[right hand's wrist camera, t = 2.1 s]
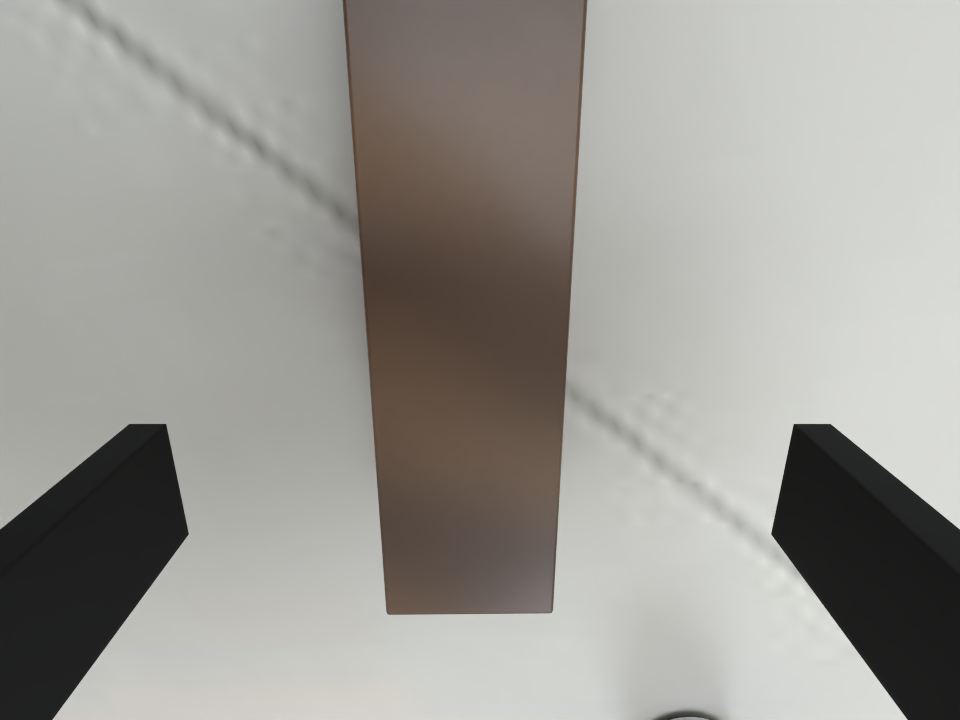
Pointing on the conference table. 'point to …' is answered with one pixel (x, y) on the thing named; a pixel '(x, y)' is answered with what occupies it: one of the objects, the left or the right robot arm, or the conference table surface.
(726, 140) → the conference table surface
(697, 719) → the pill bottle
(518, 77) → the beam
